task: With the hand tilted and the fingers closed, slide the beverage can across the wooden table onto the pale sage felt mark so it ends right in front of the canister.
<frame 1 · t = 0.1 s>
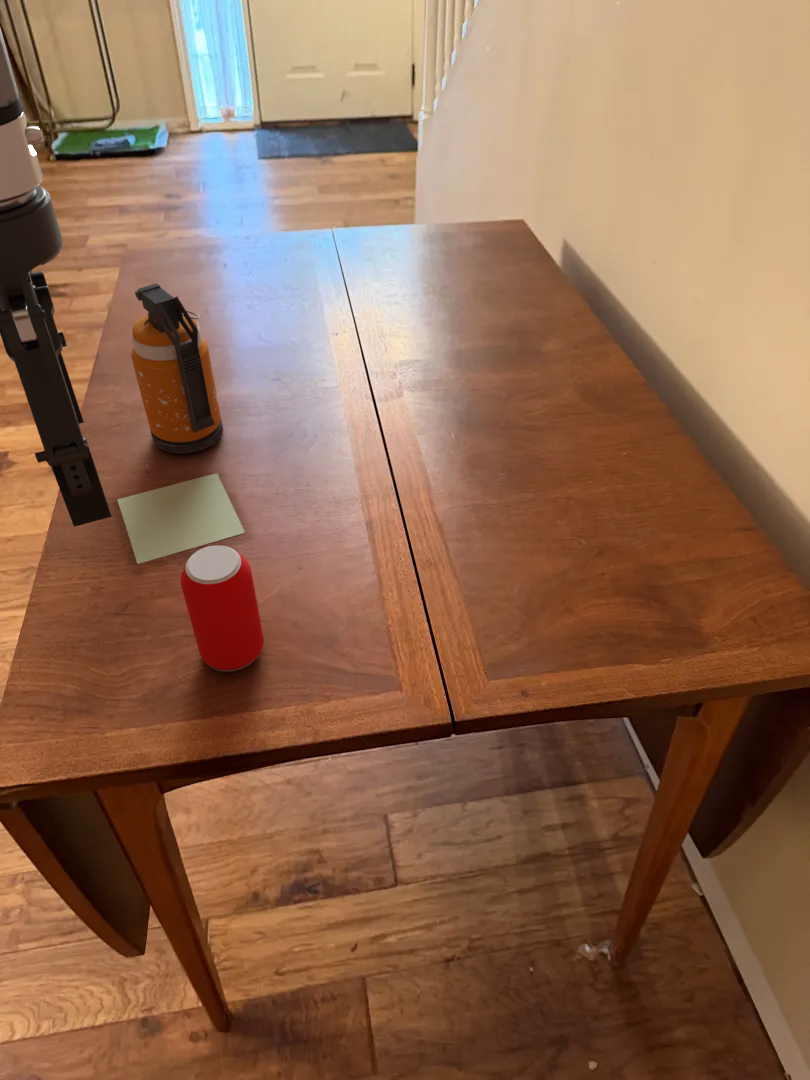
hand: (78, 468, 62), 21 cm above the table, tool pointing down, fingers open, 13 cm apart
canister: (193, 441, 101), on the table
beverage can: (233, 652, 75), on the table
felt mat: (179, 516, 90), on the table
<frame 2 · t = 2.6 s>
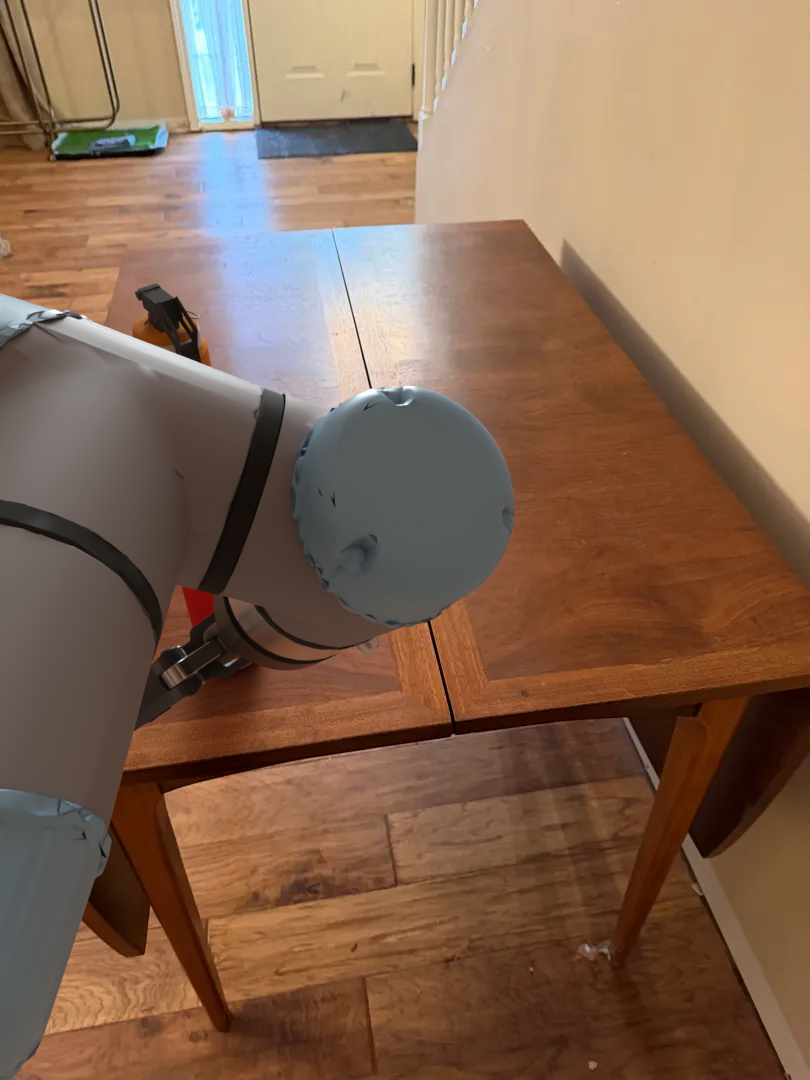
hand: (227, 645, 57), 15 cm above the table, tool tilted 35°, fingers open, 13 cm apart
nothing on the table moved.
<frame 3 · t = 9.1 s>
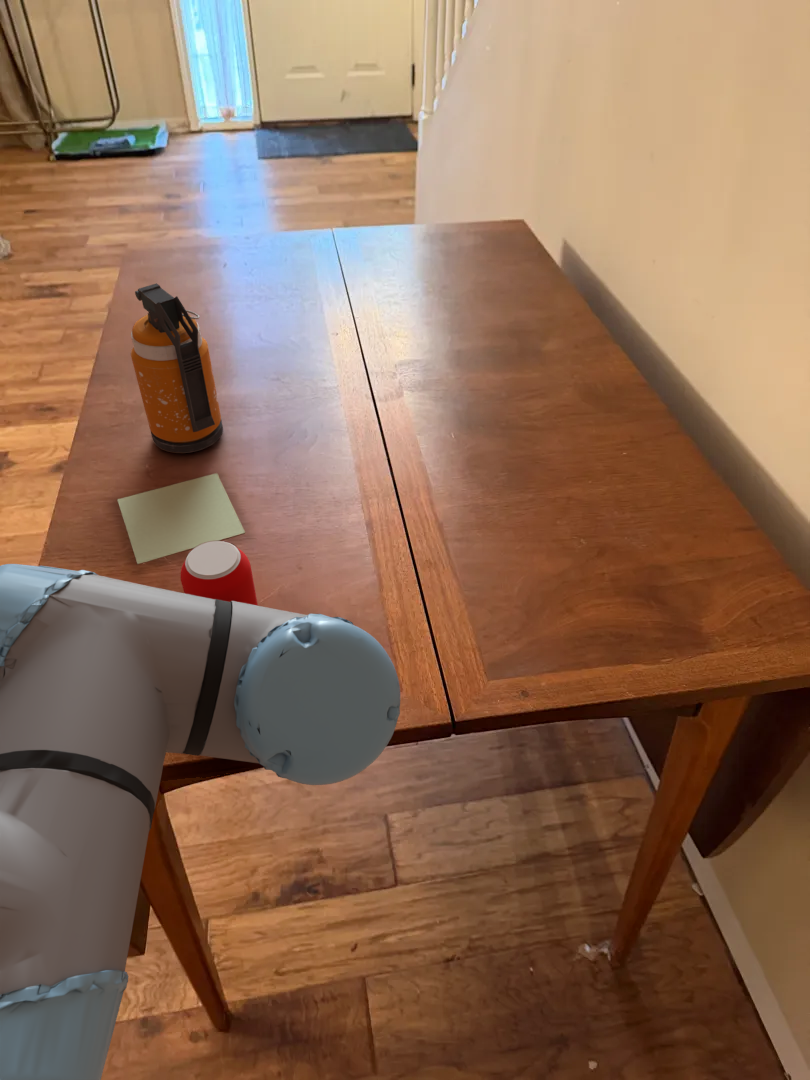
hand: (241, 654, 71), 3 cm above the table, tool tilted 45°, fingers closed
beverage can: (232, 647, 76), on the table, touching gripper
everything else where it was.
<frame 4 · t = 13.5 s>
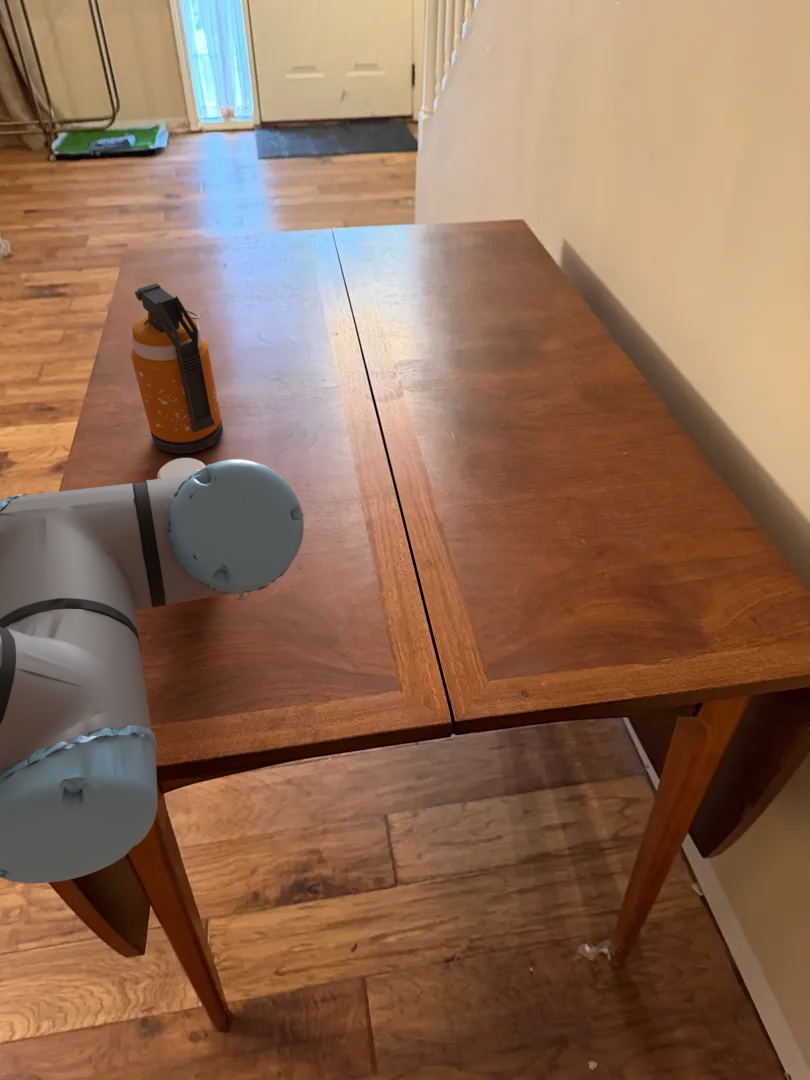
hand: (204, 561, 80), 3 cm above the table, tool tilted 45°, fingers closed
beverage can: (202, 559, 85), on the table, touching gripper
everything else where it was.
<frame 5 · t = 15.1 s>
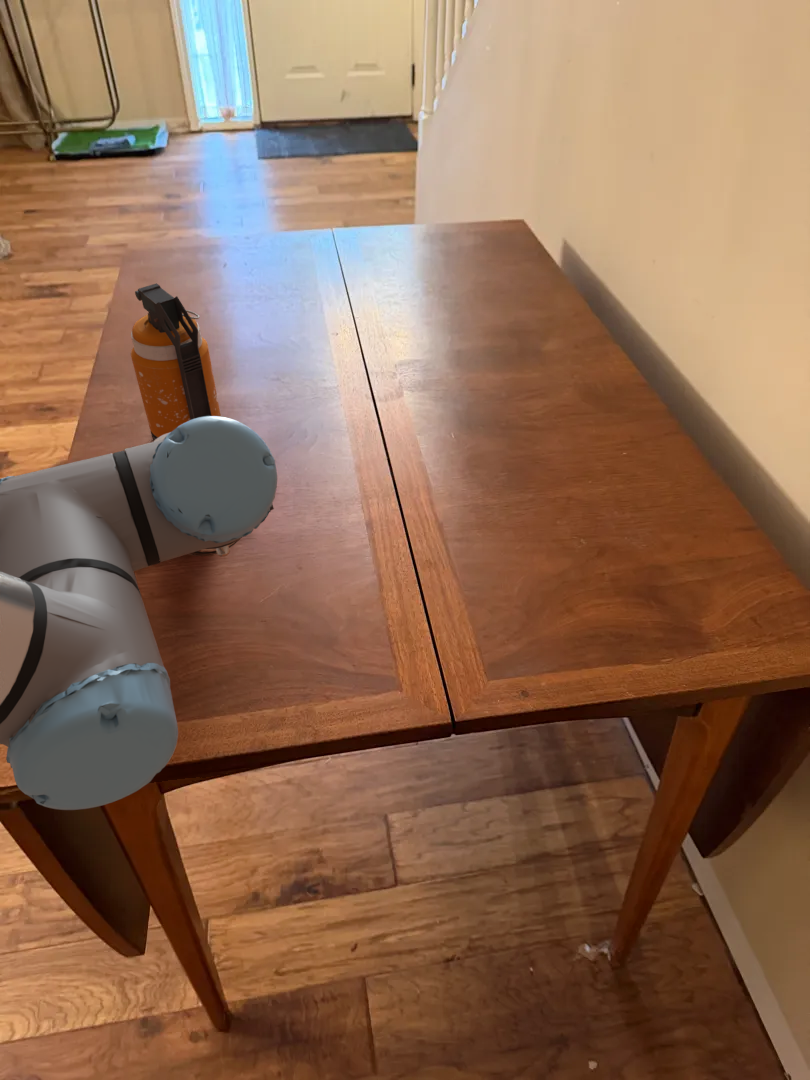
hand: (192, 532, 83), 3 cm above the table, tool tilted 45°, fingers closed
beverage can: (195, 532, 88), on the table, touching felt mat, gripper
everything else where it was.
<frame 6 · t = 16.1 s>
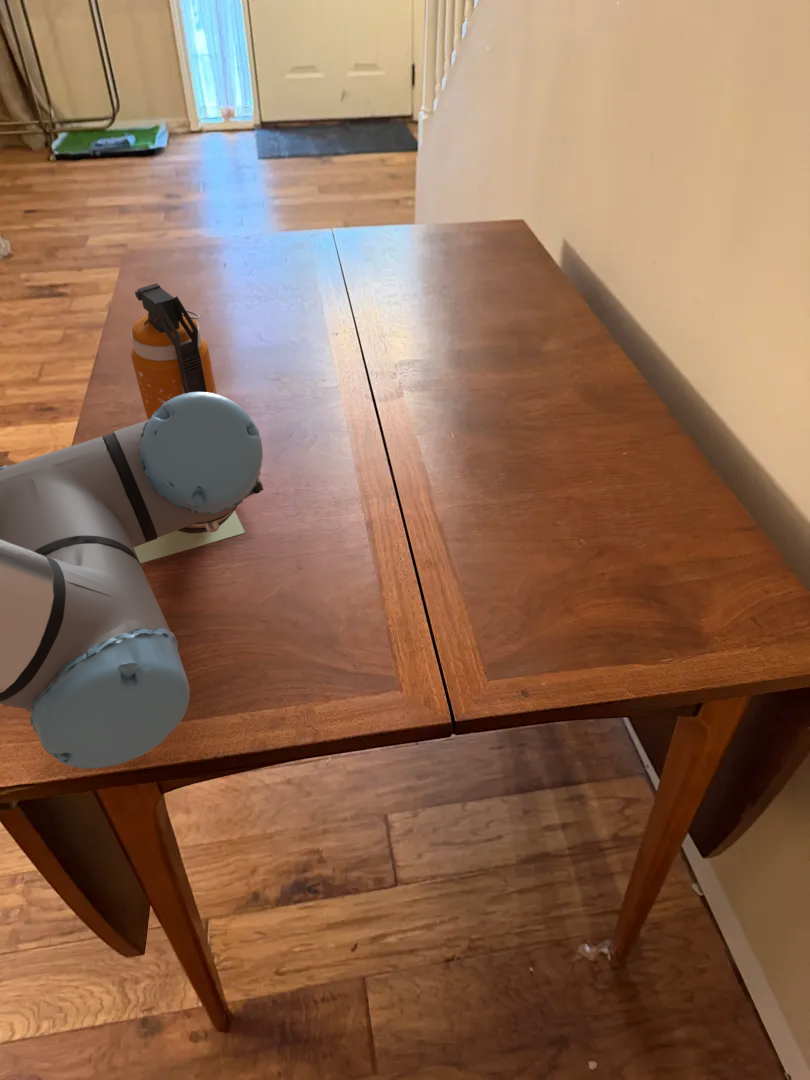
hand: (185, 515, 85), 3 cm above the table, tool tilted 45°, fingers closed
beverage can: (190, 515, 90), on the table, touching gripper
everything else where it was.
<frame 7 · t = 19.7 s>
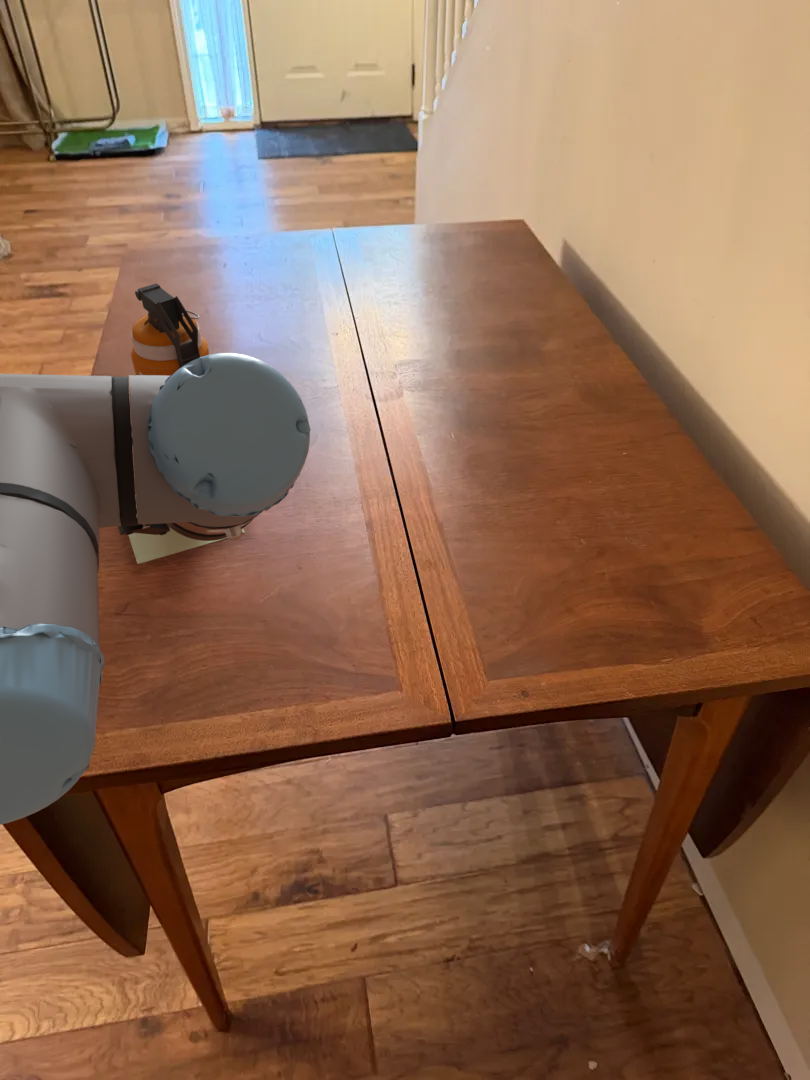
hand: (190, 518, 72), 11 cm above the table, tool tilted 45°, fingers closed
beverage can: (188, 512, 90), on the table, touching felt mat
everything else where it was.
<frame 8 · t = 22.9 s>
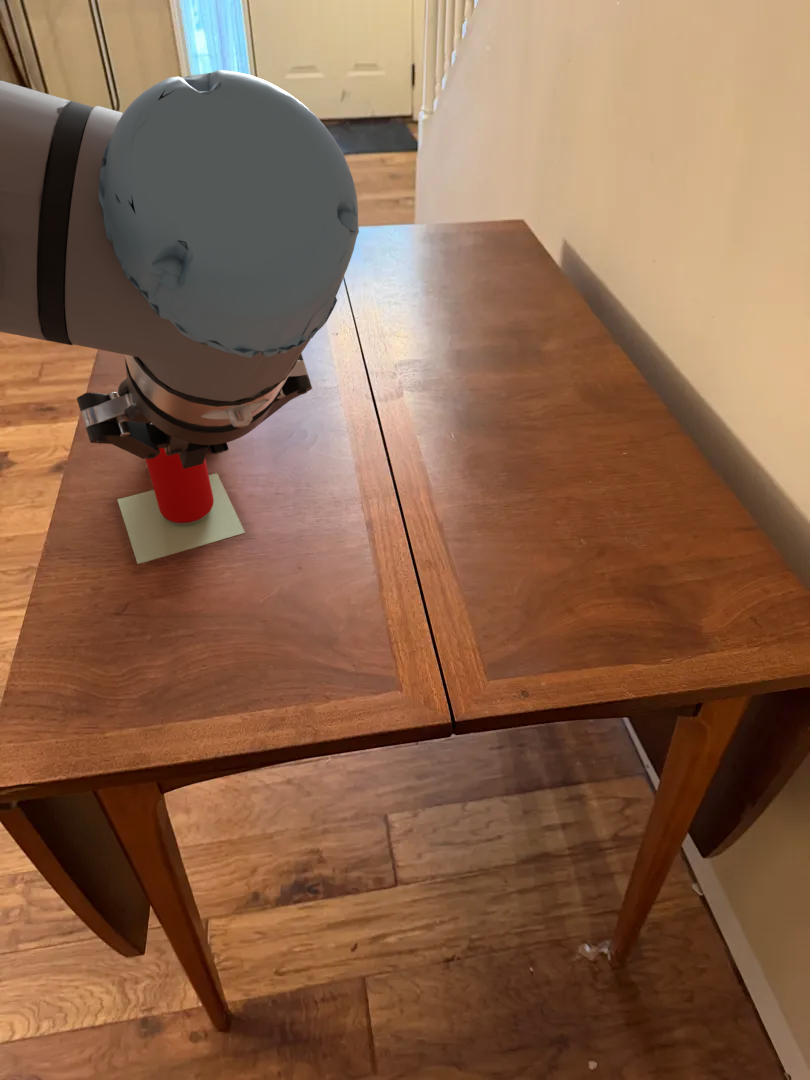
hand: (187, 449, 59), 24 cm above the table, tool tilted 45°, fingers closed
nothing on the table moved.
at the end: beverage can inside the target area on the felt mat (1.1 cm from its centre), point 0.0 cm above the felt mat's base; beverage can 14.3 cm from the canister (horizontally); beverage can tilted 0° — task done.
